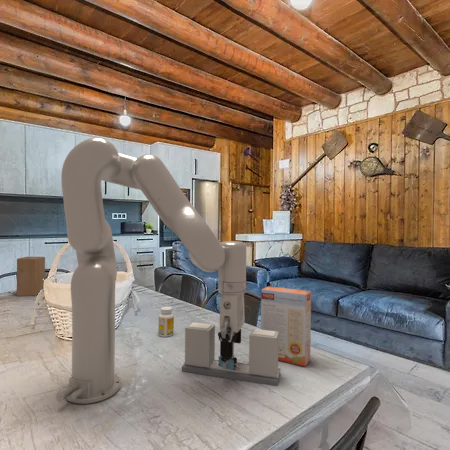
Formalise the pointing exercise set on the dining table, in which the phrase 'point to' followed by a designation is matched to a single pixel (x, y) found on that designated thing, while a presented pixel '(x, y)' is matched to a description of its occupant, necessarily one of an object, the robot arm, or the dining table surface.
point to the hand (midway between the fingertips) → (231, 349)
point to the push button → (227, 361)
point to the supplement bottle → (166, 322)
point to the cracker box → (288, 322)
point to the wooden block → (30, 275)
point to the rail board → (253, 372)
